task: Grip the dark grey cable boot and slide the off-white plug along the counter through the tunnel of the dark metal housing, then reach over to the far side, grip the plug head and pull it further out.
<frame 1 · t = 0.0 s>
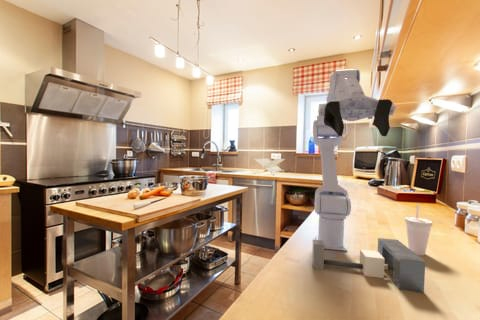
hand: (363, 131, 42), 32 cm above the table, tool tilted 50°, fingers open, 7 cm apart
smoothie: (416, 253, 65), on the table
plug: (371, 272, 53), on the table
housing: (397, 275, 52), on the table
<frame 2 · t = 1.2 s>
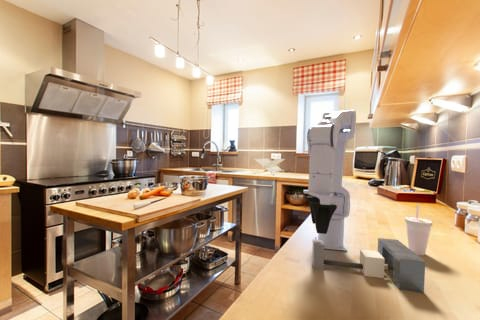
hand: (319, 228, 56), 10 cm above the table, tool pointing down, fingers open, 7 cm apart
nothing on the table moved.
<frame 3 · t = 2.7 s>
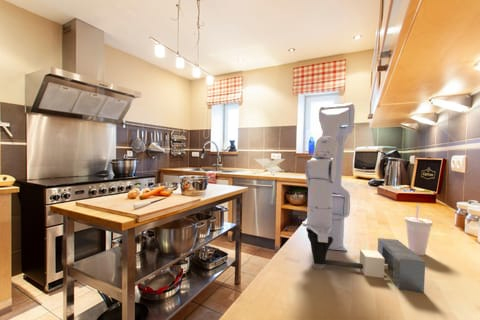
hand: (317, 260, 56), 1 cm above the table, tool pointing down, fingers closed on plug, 3 cm apart
plug: (371, 272, 53), on the table, touching gripper
everything else where it was.
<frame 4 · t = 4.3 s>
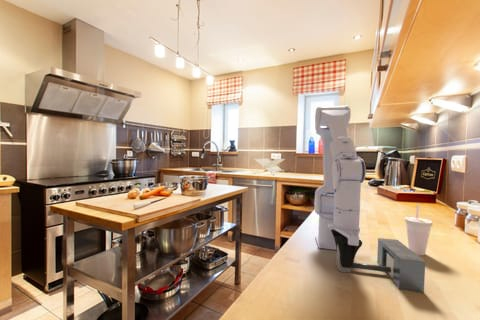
hand: (344, 263, 55), 1 cm above the table, tool pointing down, fingers closed on plug, 3 cm apart
plug: (399, 276, 52), on the table, touching gripper
everything else where it was.
when the fingers open (1 cm above the table, at t = 6.2 s): plug stays where it is, on the table.
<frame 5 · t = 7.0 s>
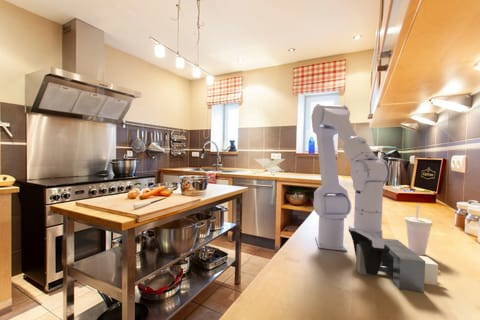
hand: (365, 265, 54), 1 cm above the table, tool pointing down, fingers open, 7 cm apart
plug: (421, 278, 51), on the table
everything else where it was.
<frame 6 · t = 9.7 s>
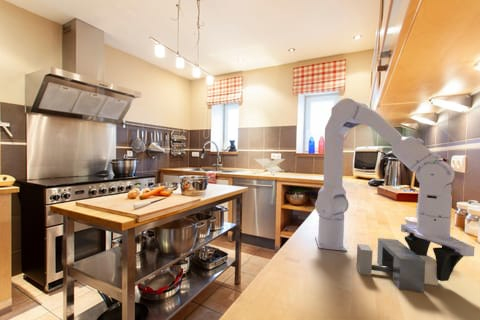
hand: (430, 273, 51), 1 cm above the table, tool pointing down, fingers closed on plug, 5 cm apart
plug: (422, 278, 51), on the table, touching gripper
everything else where it was.
when the fingers open (1 cm above the table, at t = 11.9 s): plug stays where it is, on the table.
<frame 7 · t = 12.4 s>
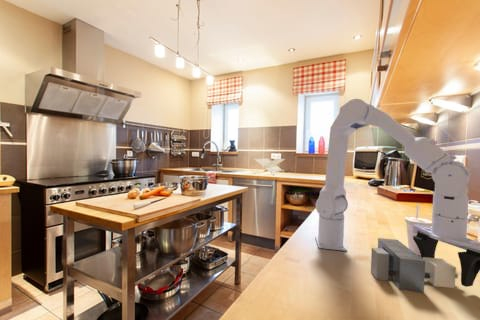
hand: (446, 275, 50), 1 cm above the table, tool pointing down, fingers open, 7 cm apart
plug: (437, 281, 50), on the table
everything else where it was.
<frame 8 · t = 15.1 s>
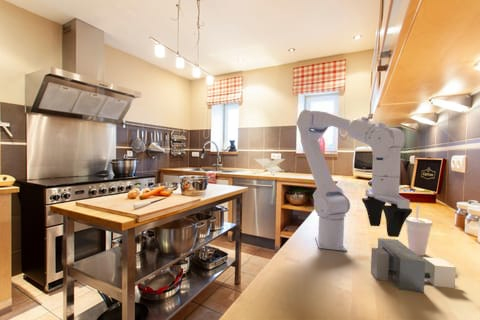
hand: (383, 230, 55), 9 cm above the table, tool pointing down, fingers open, 7 cm apart
nothing on the table moved.
at the end: plug inside the target area (3.0 cm from its centre), on the table; the gripper is holding nothing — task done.
